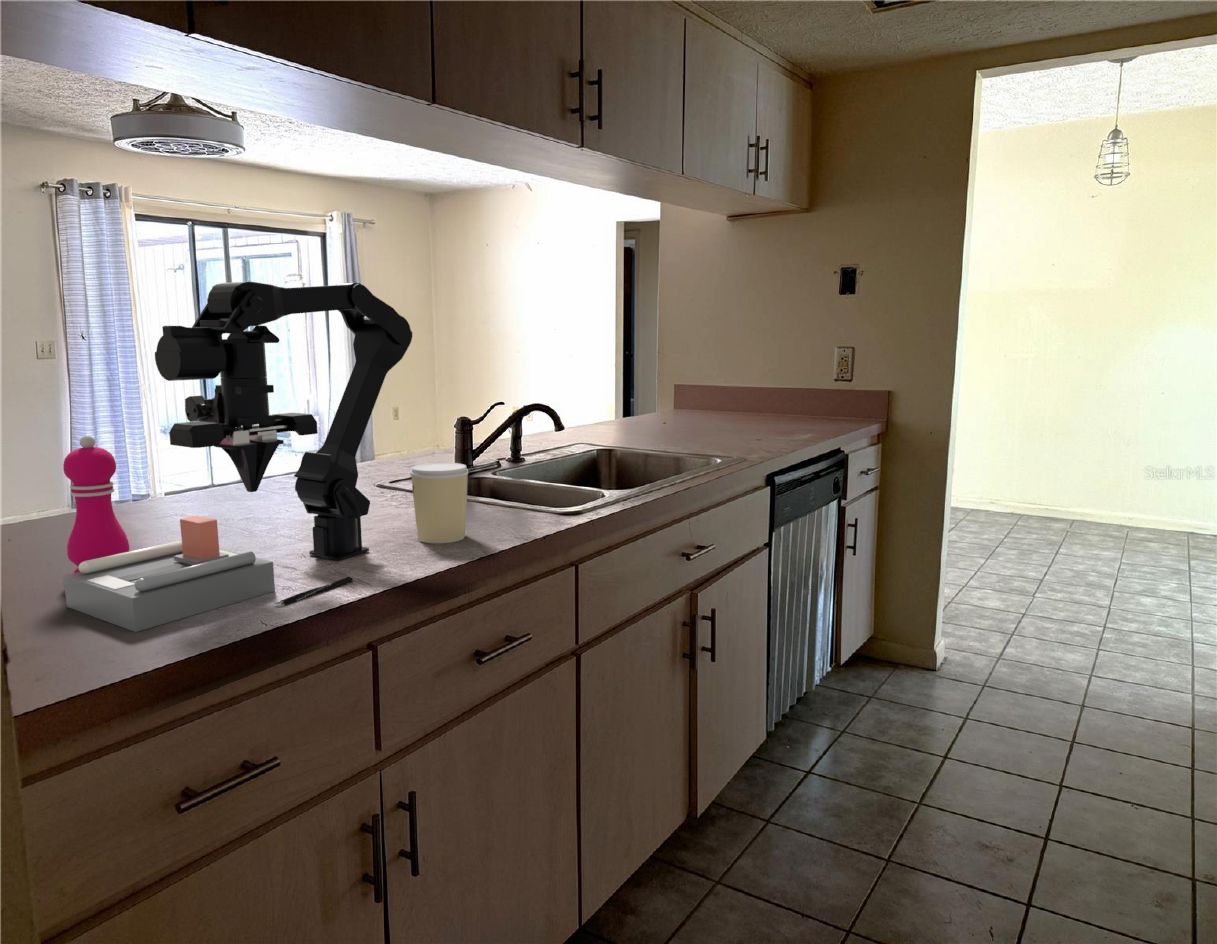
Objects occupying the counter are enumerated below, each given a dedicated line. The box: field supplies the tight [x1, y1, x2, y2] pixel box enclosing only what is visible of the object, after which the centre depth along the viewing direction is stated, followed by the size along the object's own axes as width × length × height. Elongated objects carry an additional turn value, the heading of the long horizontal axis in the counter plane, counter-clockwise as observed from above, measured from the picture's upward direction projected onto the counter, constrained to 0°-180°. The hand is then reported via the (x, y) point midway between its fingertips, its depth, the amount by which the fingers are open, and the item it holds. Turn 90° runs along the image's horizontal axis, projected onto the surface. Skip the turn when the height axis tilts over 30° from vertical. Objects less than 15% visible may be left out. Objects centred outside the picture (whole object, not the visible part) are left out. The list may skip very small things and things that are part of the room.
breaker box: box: [63, 539, 276, 633], centre depth 104 cm, size 18×16×6 cm
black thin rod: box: [274, 576, 354, 609], centre depth 107 cm, size 12×1×1 cm, turn 152°
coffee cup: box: [409, 462, 469, 544], centre depth 135 cm, size 9×9×12 cm
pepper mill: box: [62, 435, 130, 573], centre depth 111 cm, size 7×7×20 cm
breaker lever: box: [174, 515, 229, 565], centre depth 107 cm, size 4×5×5 cm
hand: (252, 491), depth 112 cm, fingers closed
